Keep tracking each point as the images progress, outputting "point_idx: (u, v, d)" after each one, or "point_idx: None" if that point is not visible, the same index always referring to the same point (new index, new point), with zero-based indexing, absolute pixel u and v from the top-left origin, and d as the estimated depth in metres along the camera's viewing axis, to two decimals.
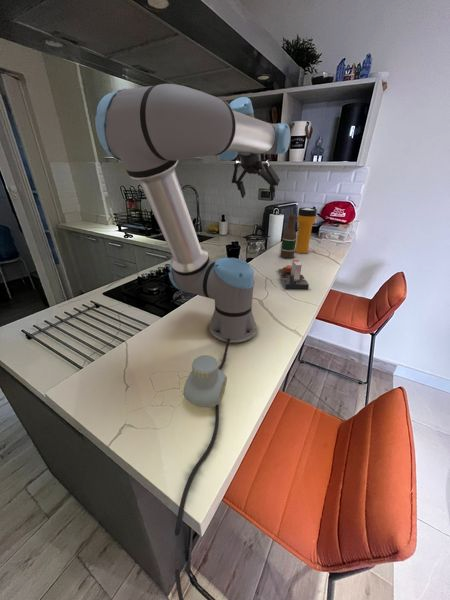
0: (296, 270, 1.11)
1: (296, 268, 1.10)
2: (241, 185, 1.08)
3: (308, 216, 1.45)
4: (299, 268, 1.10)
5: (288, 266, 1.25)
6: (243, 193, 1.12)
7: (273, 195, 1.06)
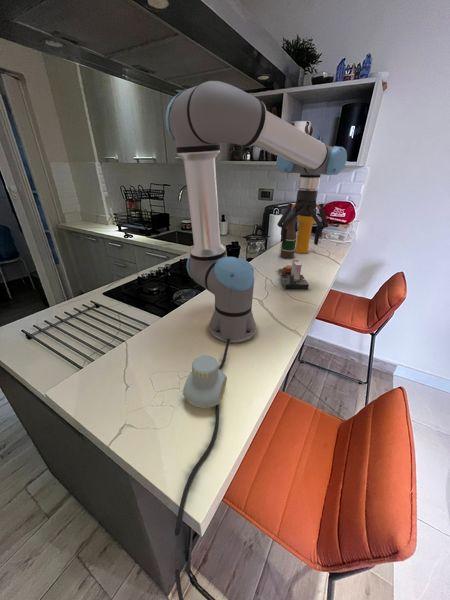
0: (296, 270, 1.11)
1: (296, 268, 1.10)
2: None
3: (308, 216, 1.45)
4: (299, 268, 1.10)
5: (288, 266, 1.25)
6: None
7: None
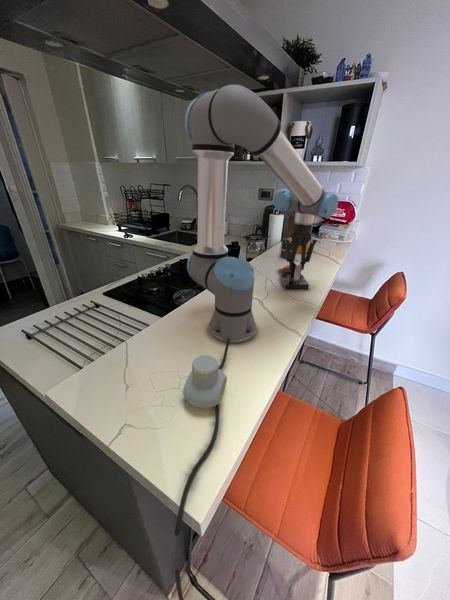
0: (296, 270, 1.11)
1: (296, 268, 1.10)
2: None
3: None
4: (299, 268, 1.10)
5: (288, 266, 1.25)
6: None
7: None
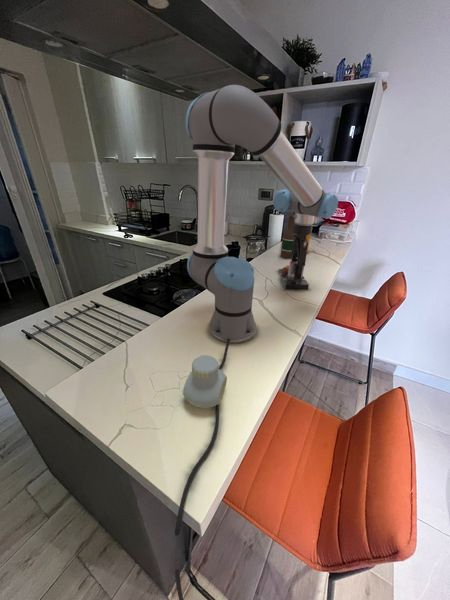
0: None
1: None
2: None
3: None
4: None
5: (288, 266, 1.25)
6: None
7: None
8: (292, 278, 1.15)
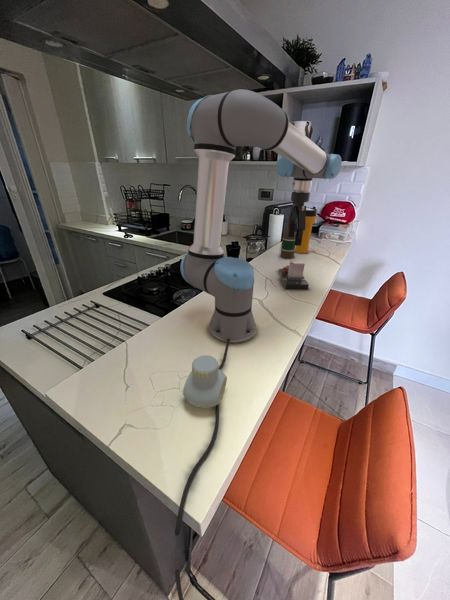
0: None
1: None
2: None
3: (308, 216, 1.45)
4: None
5: (288, 266, 1.25)
6: None
7: None
8: (292, 278, 1.15)
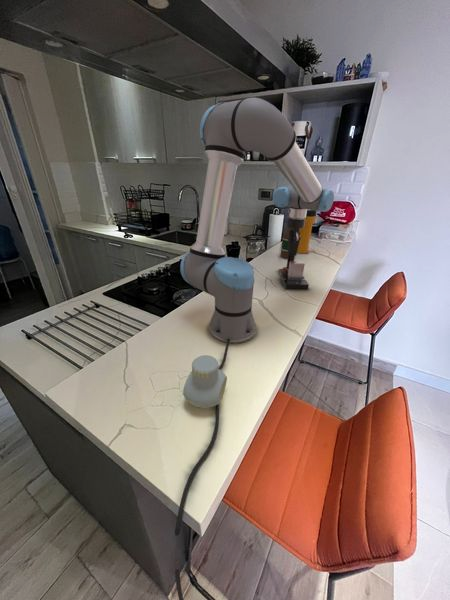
0: None
1: None
2: None
3: (308, 216, 1.45)
4: None
5: None
6: None
7: None
8: (292, 278, 1.15)
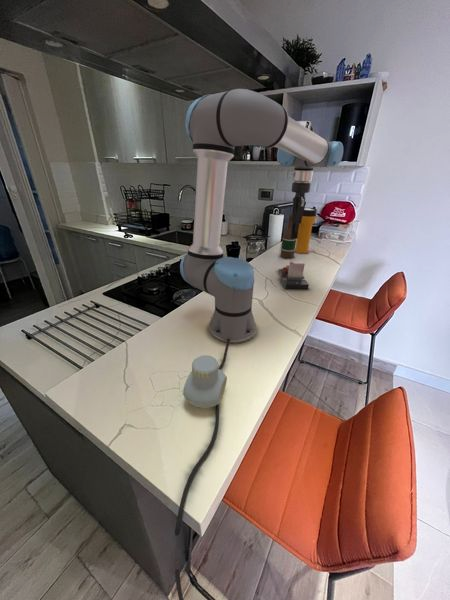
0: None
1: None
2: None
3: (308, 216, 1.45)
4: None
5: (288, 266, 1.25)
6: None
7: None
8: (292, 278, 1.15)
